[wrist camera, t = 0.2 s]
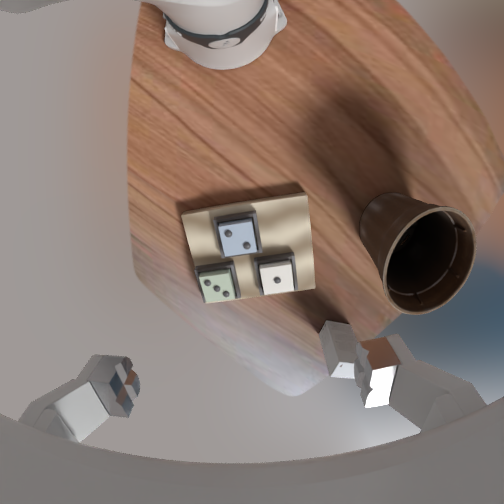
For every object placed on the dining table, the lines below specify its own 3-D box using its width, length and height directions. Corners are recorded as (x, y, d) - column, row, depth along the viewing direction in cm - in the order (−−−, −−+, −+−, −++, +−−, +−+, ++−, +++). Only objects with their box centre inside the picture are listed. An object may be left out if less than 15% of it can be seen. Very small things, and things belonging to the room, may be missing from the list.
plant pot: (379, 161, 43) (431, 183, 29) (439, 207, 46) (491, 242, 32) (330, 241, 50) (359, 292, 35) (394, 276, 53) (431, 326, 38)
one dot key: (259, 263, 48) (259, 269, 46) (289, 259, 48) (291, 264, 46) (264, 289, 50) (264, 295, 48) (292, 284, 50) (294, 291, 48)
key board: (183, 211, 47) (179, 218, 44) (305, 192, 46) (309, 197, 43) (207, 297, 55) (204, 308, 51) (313, 282, 53) (316, 292, 50)
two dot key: (219, 222, 45) (218, 227, 43) (251, 217, 45) (251, 222, 43) (226, 251, 47) (224, 257, 45) (256, 247, 47) (256, 252, 45)
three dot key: (200, 272, 49) (198, 278, 47) (229, 268, 49) (228, 274, 47) (207, 296, 51) (206, 303, 49) (235, 293, 51) (234, 299, 49)
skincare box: (317, 334, 59) (328, 377, 48) (326, 319, 57) (339, 361, 46) (342, 338, 59) (356, 379, 48) (351, 324, 57) (367, 364, 47)
